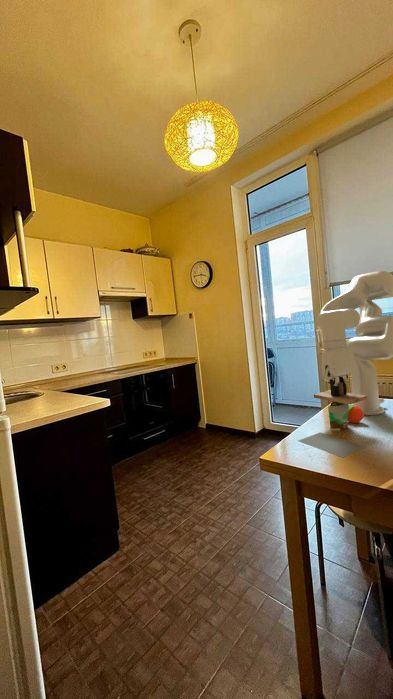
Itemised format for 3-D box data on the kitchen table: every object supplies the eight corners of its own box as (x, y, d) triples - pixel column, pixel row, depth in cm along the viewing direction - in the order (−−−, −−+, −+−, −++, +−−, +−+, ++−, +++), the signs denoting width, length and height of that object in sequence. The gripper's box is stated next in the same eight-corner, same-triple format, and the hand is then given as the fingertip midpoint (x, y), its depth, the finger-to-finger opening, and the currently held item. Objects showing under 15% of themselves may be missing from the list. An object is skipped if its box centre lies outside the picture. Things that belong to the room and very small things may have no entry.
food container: (349, 435, 99) (347, 407, 99) (330, 434, 102) (328, 406, 102) (352, 424, 110) (350, 398, 109) (334, 422, 113) (332, 397, 112)
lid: (329, 393, 114) (328, 378, 114) (367, 399, 101) (365, 382, 100) (313, 397, 110) (312, 382, 110) (350, 404, 97) (348, 387, 96)
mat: (320, 434, 103) (320, 432, 103) (366, 449, 88) (366, 446, 88) (297, 442, 98) (297, 440, 98) (343, 460, 83) (342, 457, 83)
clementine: (359, 427, 105) (357, 408, 105) (339, 424, 110) (337, 406, 110) (367, 421, 110) (365, 403, 110) (347, 418, 116) (346, 401, 115)
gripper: (340, 342, 111) (344, 389, 112) (310, 348, 104) (314, 398, 105) (359, 342, 104) (363, 392, 106) (328, 348, 97) (332, 401, 98)
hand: (338, 394), depth 105 cm, fingers closed on lid, 3 cm apart
